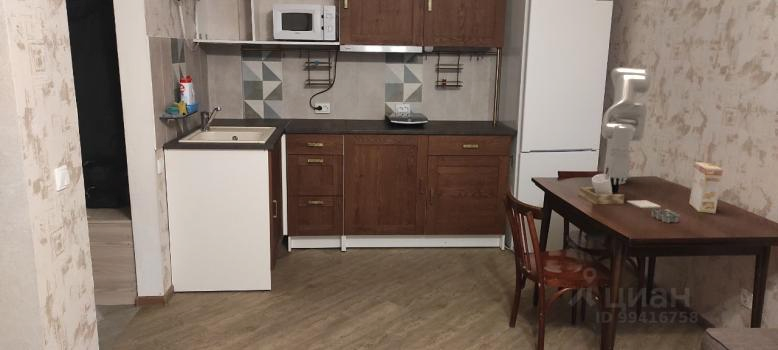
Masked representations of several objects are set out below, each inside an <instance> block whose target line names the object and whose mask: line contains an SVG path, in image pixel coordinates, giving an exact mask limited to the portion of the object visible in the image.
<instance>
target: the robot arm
mask: <svg viewBox="0 0 778 350" xmlns="http://www.w3.org/2000/svg"><path fill="white" fill-rule="evenodd" d="M611 81H612V84H613V88H614V95H613V96H614V97H613V104H612V105H611V106H610V107H608V108H607V110H606V111H605V112H604V115H603V117H602V123H601V136H602V138H604V139H606V140H607V142H606V143H607V144H606V151H605V160H604V169H603V174H604V175H605V174H606V177H605V179H606V180H608V179H609V176H610V180H611V186H612V194H619V188H620V185H624V184H626V183H627V182H626V181H627V180H628V179H631V178H632V175H631V174H629V173H630V158H629V154H630V153H631V150H630V149H629V148H630V143H631V142H641V141H642V140H643V138H644V135H645V129H646V128H645V127H646V122H647V121H646V120H647V113H648V112H647V111H648V110H647V109H648V107H647V104H646V103H645V102H643V101H638V100H635V98H636V97H635V96H636V93H637V94H638V93H641V94H642V93H643V94H646V93H647V92H649V90H650V88H651V72H650V70H649V69H648V68H641V67H640V68H638V67H626V66H625V67H622V66H620V67H615V68H613V69H612V70H611ZM612 116H613V117H614V118H615V119H620V120H615V121H611V122H609V121H610V119H611V117H612ZM621 120H624V121H621ZM625 120H628V121H625ZM634 121H635V122H634Z"/></svg>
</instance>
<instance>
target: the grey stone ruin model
mask: <svg viewBox="0 0 778 350" xmlns="http://www.w3.org/2000/svg"><path fill="white" fill-rule="evenodd" d="M650 209H652V211H651V217H652V218H656V220H660V221H661V222H662V223H668V224H669V223H678V221H679V216H680V215H681V214H678V213H676V212H673V211H672V210H670V209H668V208H667V209H660V208H659V209H657V210H656V208H653V207H651V208H650Z"/></svg>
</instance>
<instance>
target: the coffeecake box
mask: <svg viewBox="0 0 778 350" xmlns="http://www.w3.org/2000/svg"><path fill="white" fill-rule="evenodd" d="M723 170H724V169H723V168H721V167H719V166H717V165H715V164H714V163H711V162H702V161H700V162H698V161H695V165H694V171H693V178H692V183H691V184H692V185H691V191H690V195H689V196H690V197H689V205H691V206H692V208H694V209H695V210H696V211H697V212H699V213H710V214H716V212H717V207H718V200H719V194H720V190H721V189H720V187H721V181H722V175H723V172H724V171H723Z"/></svg>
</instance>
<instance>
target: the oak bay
mask: <svg viewBox="0 0 778 350" xmlns="http://www.w3.org/2000/svg"><path fill="white" fill-rule="evenodd" d="M612 194H613V195H597V194H596V193H595V189H594V187H592V186H590V187H579V188H578V197H580V198H581V197H582V199H584V200H585V201H588V202H590V203H592V204H594V205H618V204H619V205H622V204H623V205H624V201H625V194H623V193H621V194H619V193H612Z"/></svg>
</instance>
